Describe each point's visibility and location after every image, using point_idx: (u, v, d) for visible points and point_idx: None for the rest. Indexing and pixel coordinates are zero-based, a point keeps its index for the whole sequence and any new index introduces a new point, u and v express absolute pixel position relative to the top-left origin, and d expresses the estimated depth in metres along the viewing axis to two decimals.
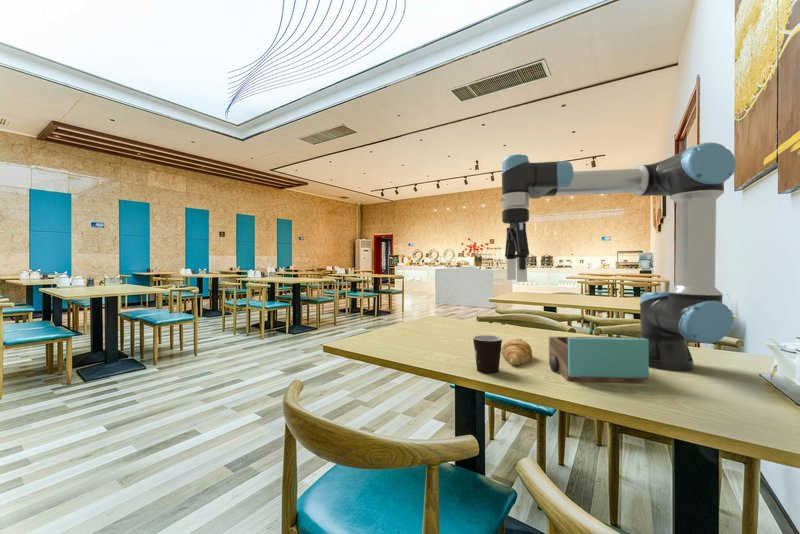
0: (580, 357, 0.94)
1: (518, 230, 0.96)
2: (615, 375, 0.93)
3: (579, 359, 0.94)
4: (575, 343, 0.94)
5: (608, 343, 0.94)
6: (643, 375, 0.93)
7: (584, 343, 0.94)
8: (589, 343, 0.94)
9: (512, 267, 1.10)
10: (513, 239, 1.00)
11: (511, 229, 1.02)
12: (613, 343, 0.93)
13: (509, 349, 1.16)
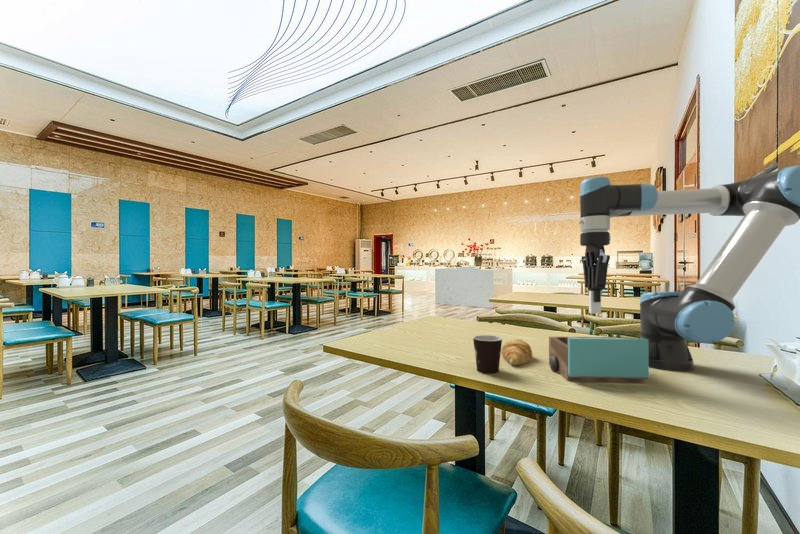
0: (580, 357, 0.94)
1: (600, 263, 0.96)
2: (615, 375, 0.93)
3: (579, 359, 0.94)
4: (575, 343, 0.94)
5: (608, 343, 0.94)
6: (643, 375, 0.93)
7: (584, 343, 0.94)
8: (589, 343, 0.94)
9: None
10: (591, 266, 1.00)
11: (591, 254, 1.00)
12: (613, 343, 0.93)
13: (509, 349, 1.16)
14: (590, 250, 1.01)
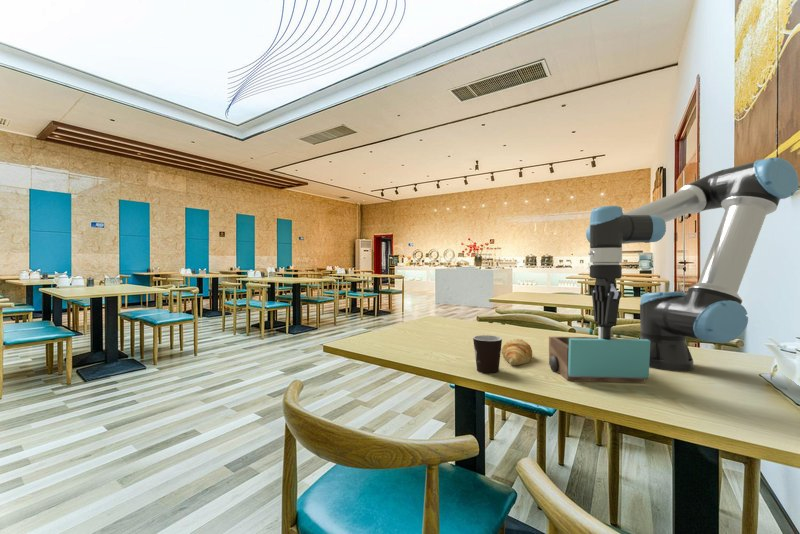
0: (581, 357, 0.94)
1: (611, 300, 0.90)
2: (615, 375, 0.93)
3: (580, 360, 0.94)
4: (576, 344, 0.94)
5: (609, 344, 0.93)
6: (643, 375, 0.93)
7: (585, 344, 0.93)
8: (590, 344, 0.93)
9: None
10: (601, 301, 0.94)
11: (602, 288, 0.93)
12: (614, 344, 0.93)
13: (509, 349, 1.16)
14: (600, 283, 0.95)
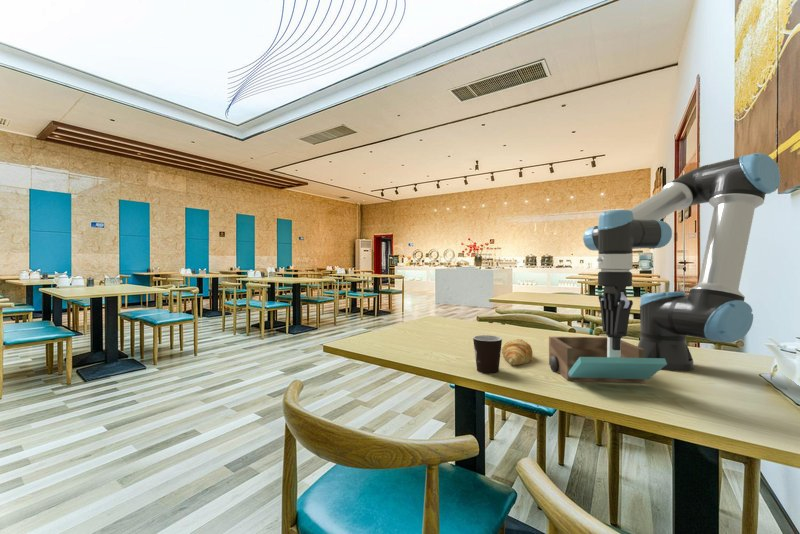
0: (586, 370, 0.91)
1: (621, 309, 0.85)
2: None
3: (584, 371, 0.91)
4: (585, 364, 0.88)
5: (621, 365, 0.87)
6: (643, 378, 0.93)
7: (595, 364, 0.88)
8: (601, 364, 0.88)
9: None
10: (610, 310, 0.89)
11: (611, 297, 0.88)
12: (627, 365, 0.87)
13: (509, 349, 1.16)
14: (609, 291, 0.90)
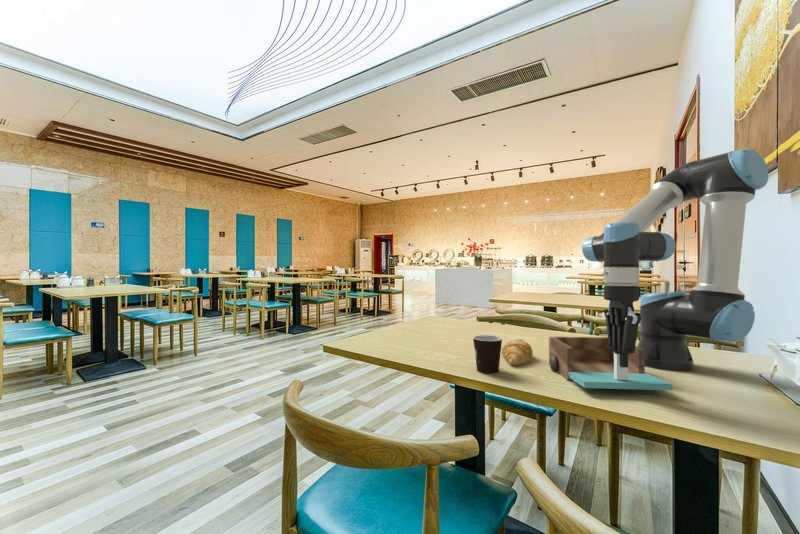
0: None
1: (629, 325, 0.82)
2: None
3: None
4: None
5: None
6: None
7: None
8: None
9: None
10: (617, 326, 0.86)
11: (618, 312, 0.85)
12: None
13: (509, 349, 1.16)
14: (615, 305, 0.87)
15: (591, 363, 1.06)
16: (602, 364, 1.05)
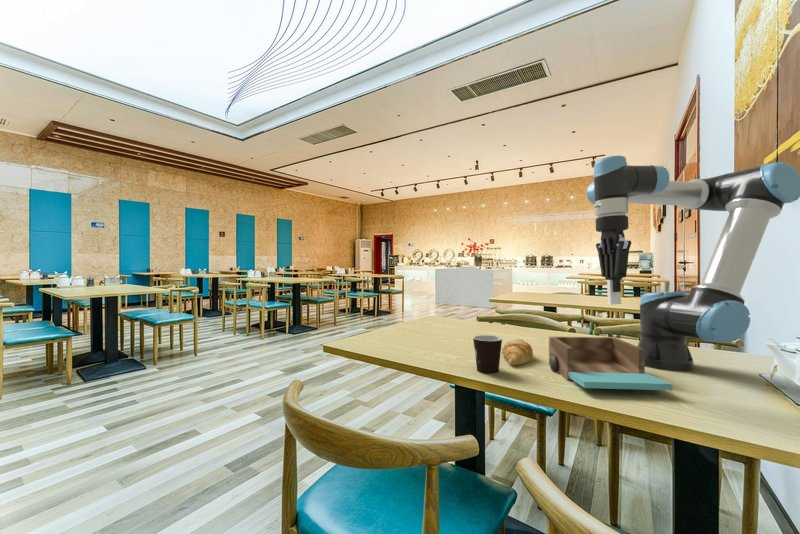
0: None
1: (621, 250, 0.88)
2: None
3: None
4: None
5: None
6: None
7: None
8: None
9: None
10: (609, 254, 0.92)
11: (609, 240, 0.92)
12: None
13: (509, 349, 1.16)
14: (607, 236, 0.94)
15: (591, 363, 1.06)
16: (602, 364, 1.05)
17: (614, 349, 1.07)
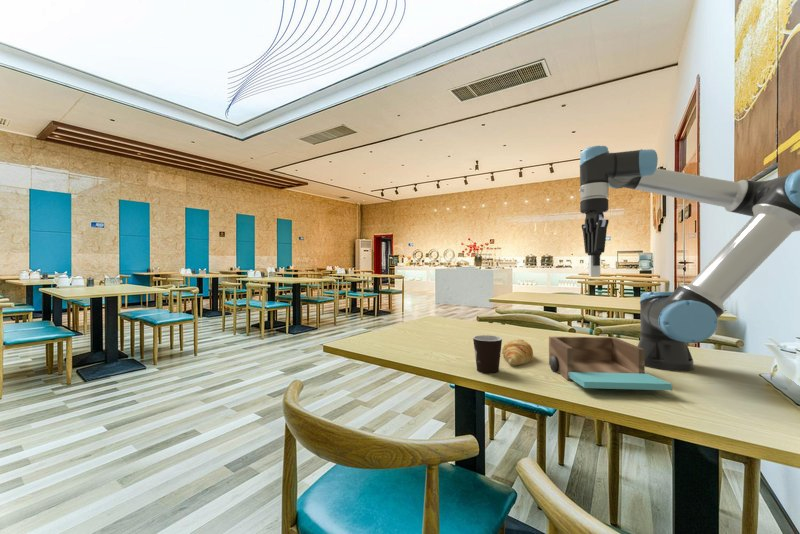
0: None
1: (599, 228, 1.01)
2: None
3: None
4: None
5: None
6: None
7: None
8: None
9: None
10: (591, 232, 1.05)
11: (591, 220, 1.04)
12: None
13: (509, 349, 1.16)
14: (590, 217, 1.06)
15: (591, 363, 1.06)
16: (602, 364, 1.05)
17: (614, 349, 1.07)
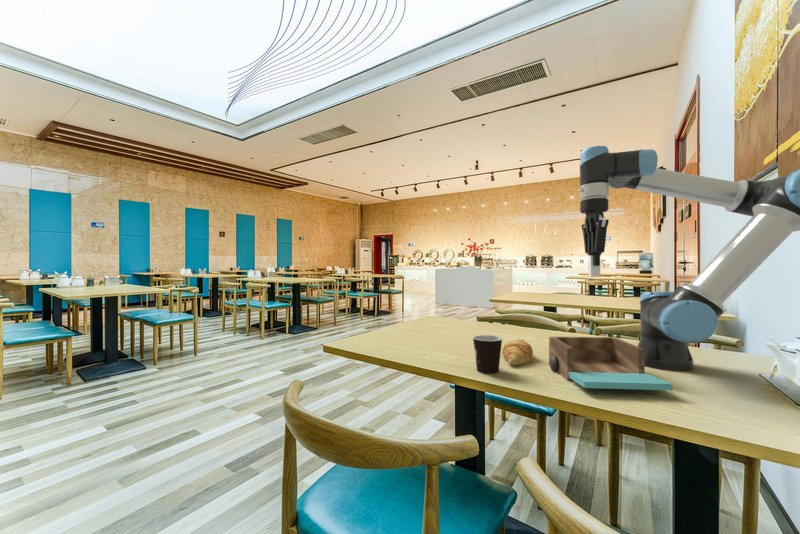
0: None
1: (599, 228, 1.01)
2: None
3: None
4: None
5: None
6: None
7: None
8: None
9: None
10: (591, 232, 1.05)
11: (591, 220, 1.04)
12: None
13: (509, 349, 1.16)
14: (590, 217, 1.06)
15: (591, 363, 1.06)
16: (602, 364, 1.05)
17: (614, 349, 1.07)
